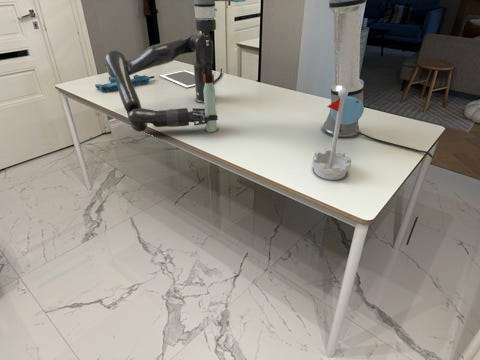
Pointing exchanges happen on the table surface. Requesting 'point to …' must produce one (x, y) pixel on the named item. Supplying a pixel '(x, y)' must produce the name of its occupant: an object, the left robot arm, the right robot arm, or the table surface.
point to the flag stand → (333, 149)
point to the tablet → (181, 78)
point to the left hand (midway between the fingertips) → (216, 115)
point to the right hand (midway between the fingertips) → (208, 81)
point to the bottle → (210, 105)
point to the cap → (205, 79)
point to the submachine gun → (113, 83)
